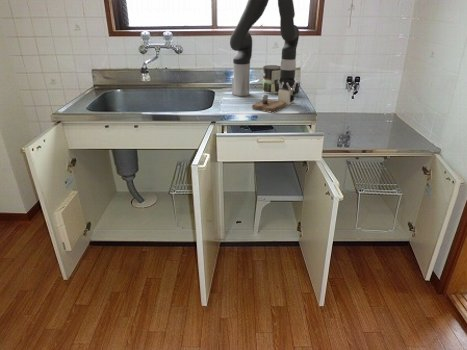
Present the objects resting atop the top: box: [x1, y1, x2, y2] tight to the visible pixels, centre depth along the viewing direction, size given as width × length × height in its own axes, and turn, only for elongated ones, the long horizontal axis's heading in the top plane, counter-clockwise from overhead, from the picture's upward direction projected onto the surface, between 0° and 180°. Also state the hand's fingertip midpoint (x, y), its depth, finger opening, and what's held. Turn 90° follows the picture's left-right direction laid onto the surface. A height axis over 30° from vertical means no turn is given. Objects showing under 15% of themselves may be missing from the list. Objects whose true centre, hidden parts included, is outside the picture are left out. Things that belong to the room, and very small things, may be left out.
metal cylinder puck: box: [261, 94, 269, 104], centre depth 174 cm, size 3×3×4 cm
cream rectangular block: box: [277, 88, 294, 106], centre depth 180 cm, size 6×6×8 cm
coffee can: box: [262, 64, 281, 95], centre depth 200 cm, size 10×10×14 cm
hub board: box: [251, 98, 287, 113], centre depth 175 cm, size 12×13×2 cm
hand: (285, 100), depth 182 cm, fingers closed on cream rectangular block, 6 cm apart
